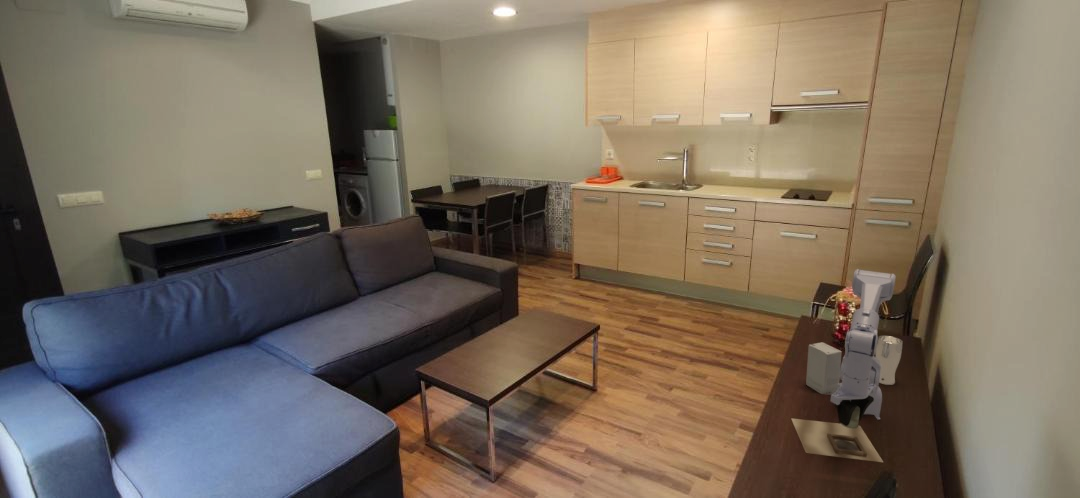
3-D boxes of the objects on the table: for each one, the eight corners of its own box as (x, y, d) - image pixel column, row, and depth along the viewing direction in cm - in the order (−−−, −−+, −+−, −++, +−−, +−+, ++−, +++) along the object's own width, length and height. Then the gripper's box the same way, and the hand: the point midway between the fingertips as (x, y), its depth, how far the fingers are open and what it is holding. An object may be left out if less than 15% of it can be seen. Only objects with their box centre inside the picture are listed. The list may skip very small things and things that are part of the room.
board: (859, 429, 139) (860, 422, 139) (883, 466, 124) (884, 458, 124) (790, 421, 144) (791, 415, 143) (805, 456, 129) (806, 449, 128)
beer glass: (874, 383, 163) (880, 342, 160) (869, 374, 170) (875, 334, 166) (899, 387, 161) (906, 345, 157) (893, 377, 167) (900, 336, 163)
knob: (848, 418, 131) (850, 401, 130) (861, 426, 127) (863, 409, 126) (836, 421, 130) (838, 403, 129) (849, 429, 126) (851, 411, 125)
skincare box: (838, 394, 158) (844, 351, 154) (822, 396, 156) (828, 354, 153) (818, 381, 166) (823, 341, 162) (803, 383, 164) (808, 343, 161)
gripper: (860, 362, 132) (853, 407, 135) (822, 373, 126) (816, 420, 130) (887, 374, 125) (879, 420, 129) (848, 386, 120) (841, 434, 123)
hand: (849, 421), depth 129 cm, fingers closed on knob, 4 cm apart
